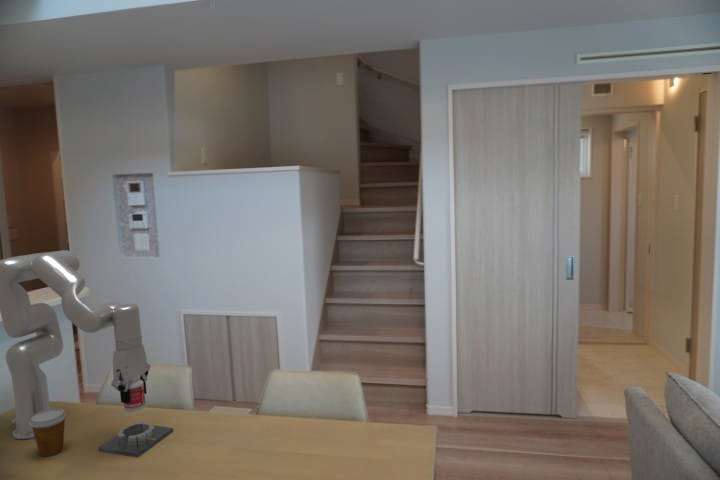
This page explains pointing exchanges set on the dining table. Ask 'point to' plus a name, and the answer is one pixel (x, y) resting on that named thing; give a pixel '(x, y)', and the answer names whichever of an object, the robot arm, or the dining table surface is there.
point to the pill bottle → (135, 395)
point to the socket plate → (137, 448)
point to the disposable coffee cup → (49, 431)
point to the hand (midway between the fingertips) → (134, 397)
